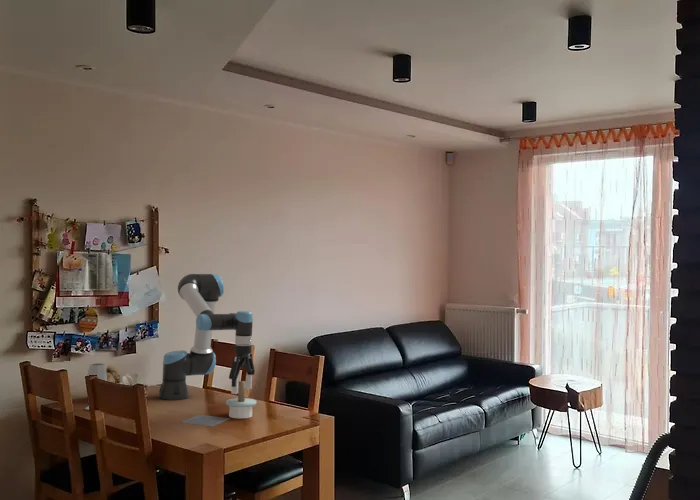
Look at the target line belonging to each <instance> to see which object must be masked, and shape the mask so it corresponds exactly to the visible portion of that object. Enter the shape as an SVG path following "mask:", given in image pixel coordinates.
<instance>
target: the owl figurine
mask: <svg viewBox="0 0 700 500" xmlns="http://www.w3.org/2000/svg"><path fill="white" fill-rule="evenodd" d="M106 373H107V381H109V382H115V383H119V384H120V382H121V373H120V372H119V370H118V367H116V365H115V366H114V365H111V364H110V365H107V367H106Z"/></svg>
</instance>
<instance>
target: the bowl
mask: <svg viewBox="0 0 700 500" xmlns="http://www.w3.org/2000/svg"><path fill="white" fill-rule="evenodd" d="M228 407H229V413H228V416H229V417H230V418H232V419H249V418H252V417H253V407H254V406H251V407H231V406H228Z"/></svg>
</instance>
